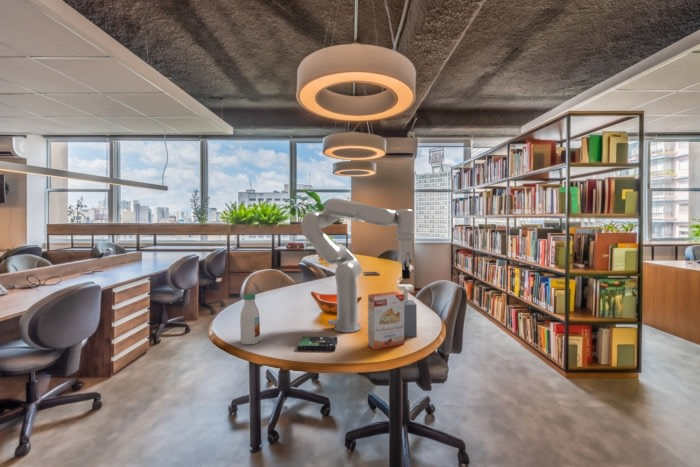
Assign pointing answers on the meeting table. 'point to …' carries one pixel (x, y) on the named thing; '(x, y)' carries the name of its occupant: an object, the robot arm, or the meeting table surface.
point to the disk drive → (317, 344)
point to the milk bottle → (249, 321)
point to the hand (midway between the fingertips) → (405, 278)
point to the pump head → (405, 290)
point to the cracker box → (385, 320)
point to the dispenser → (410, 319)
